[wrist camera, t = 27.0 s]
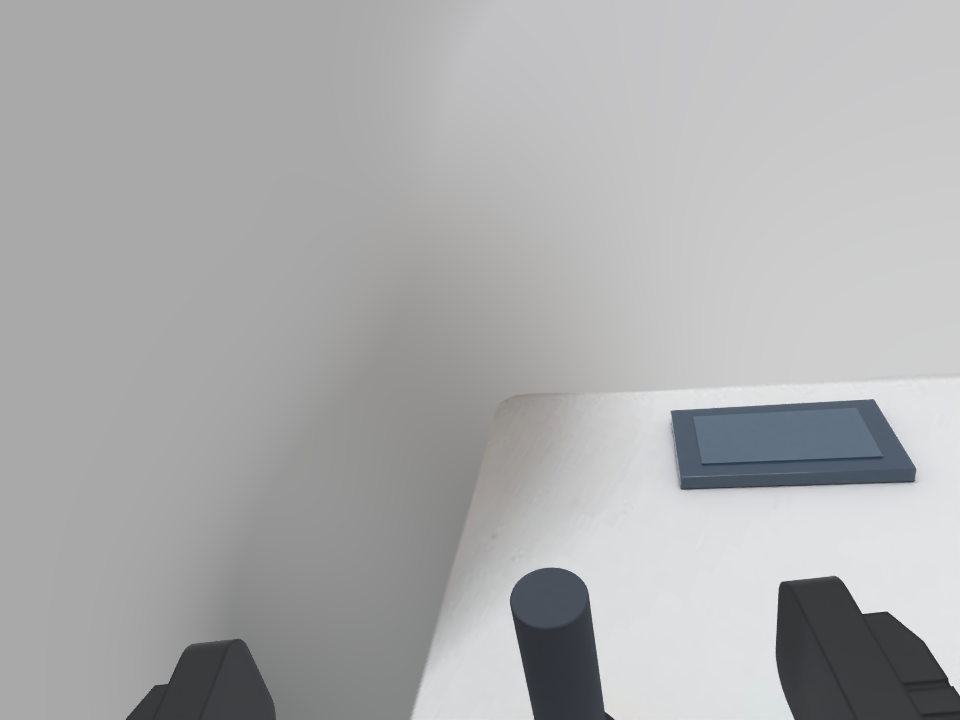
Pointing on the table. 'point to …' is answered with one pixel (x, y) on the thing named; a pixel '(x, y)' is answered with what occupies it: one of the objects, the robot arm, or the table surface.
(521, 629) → the sponge wand
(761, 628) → the table surface
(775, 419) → the plate
